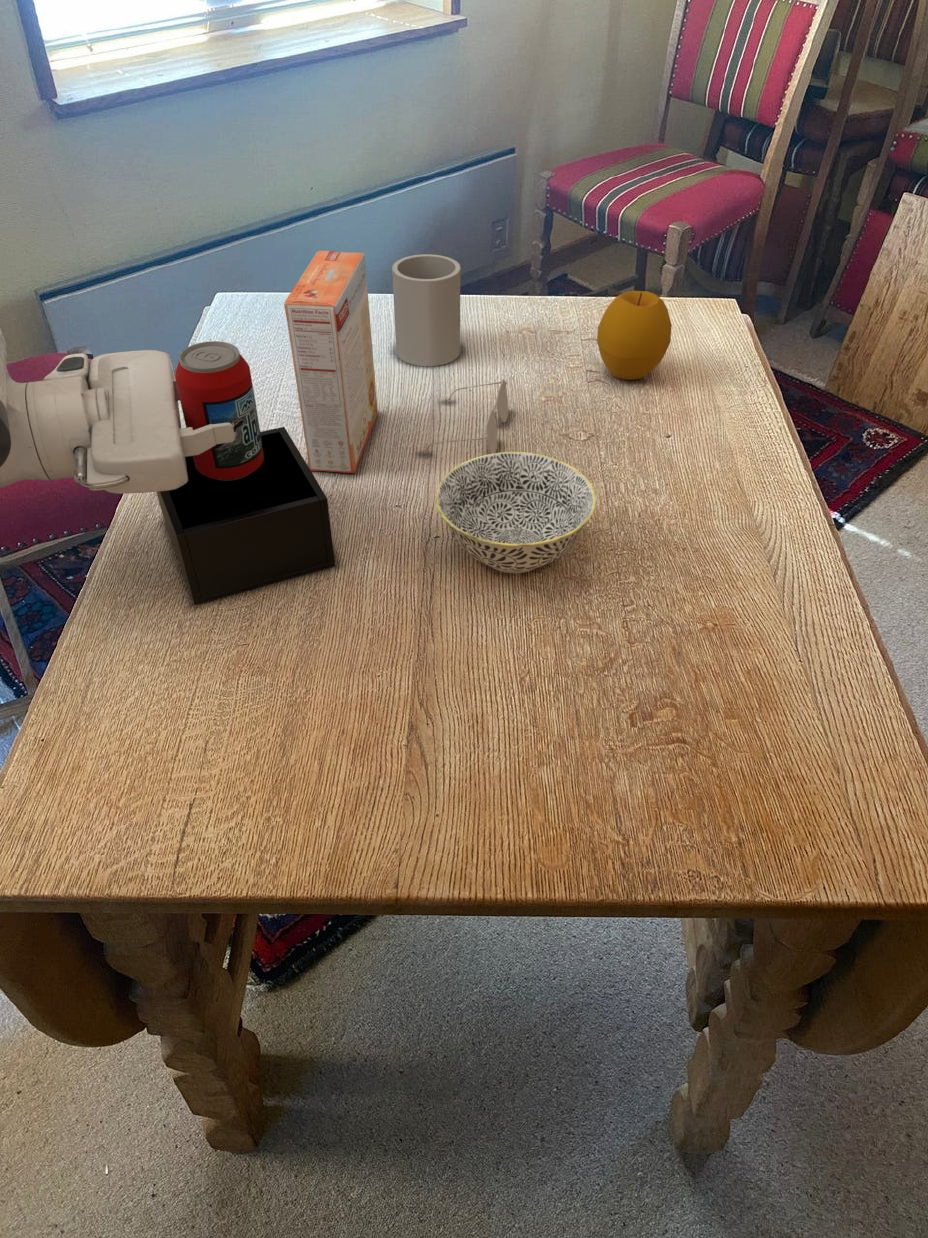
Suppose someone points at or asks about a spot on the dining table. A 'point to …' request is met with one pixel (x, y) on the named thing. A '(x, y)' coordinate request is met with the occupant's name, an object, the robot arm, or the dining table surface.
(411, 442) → the dining table surface
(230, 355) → the beverage can
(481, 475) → the bowl
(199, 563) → the black open box
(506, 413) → the sunglasses
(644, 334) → the apple
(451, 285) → the cup
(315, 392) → the cracker box
